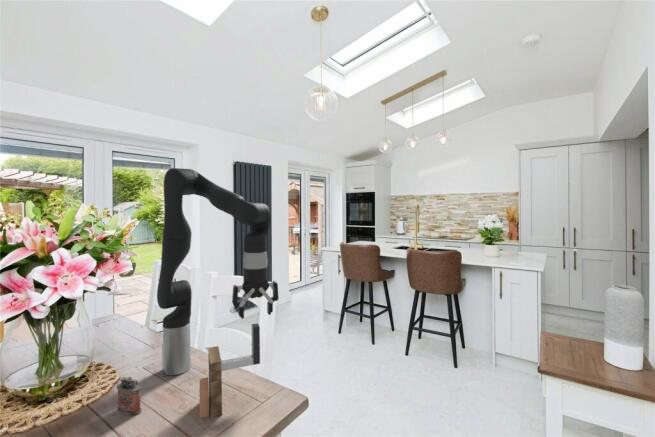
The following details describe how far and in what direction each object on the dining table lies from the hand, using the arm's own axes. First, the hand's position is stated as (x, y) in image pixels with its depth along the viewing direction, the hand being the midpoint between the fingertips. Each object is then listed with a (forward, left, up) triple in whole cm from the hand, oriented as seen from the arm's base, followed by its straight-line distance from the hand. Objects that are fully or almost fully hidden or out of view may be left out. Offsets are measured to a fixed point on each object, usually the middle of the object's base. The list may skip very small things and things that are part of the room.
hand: (255, 315), depth 100 cm
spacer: (-9, -13, -26) cm, 31 cm away
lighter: (-27, -25, -26) cm, 46 cm away
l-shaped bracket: (-3, -5, -15) cm, 16 cm away
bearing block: (-7, -10, -26) cm, 29 cm away
